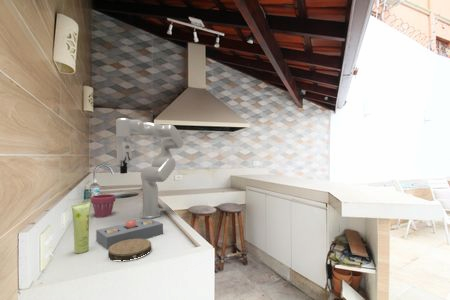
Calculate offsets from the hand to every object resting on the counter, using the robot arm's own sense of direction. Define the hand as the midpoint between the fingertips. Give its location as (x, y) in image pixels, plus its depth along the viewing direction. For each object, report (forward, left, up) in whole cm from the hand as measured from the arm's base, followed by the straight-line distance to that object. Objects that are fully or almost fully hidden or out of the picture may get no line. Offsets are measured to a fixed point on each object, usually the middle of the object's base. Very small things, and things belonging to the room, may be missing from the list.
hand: (123, 173), depth 130 cm
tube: (+26, +22, -29) cm, 45 cm away
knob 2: (-4, +21, -28) cm, 35 cm away
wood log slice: (+13, +38, -30) cm, 50 cm away
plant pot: (0, -33, -29) cm, 44 cm away
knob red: (+5, +21, -26) cm, 34 cm away
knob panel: (+5, +21, -29) cm, 36 cm away
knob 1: (+13, +21, -28) cm, 38 cm away
